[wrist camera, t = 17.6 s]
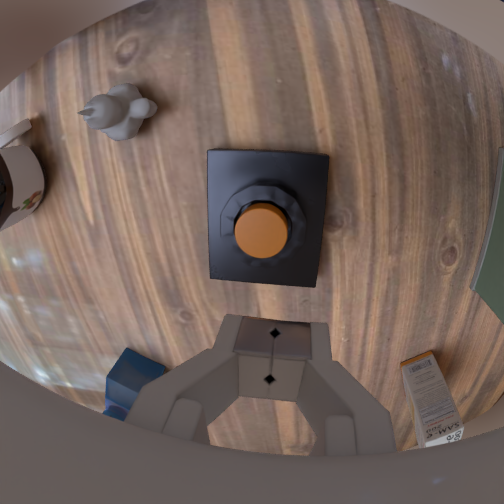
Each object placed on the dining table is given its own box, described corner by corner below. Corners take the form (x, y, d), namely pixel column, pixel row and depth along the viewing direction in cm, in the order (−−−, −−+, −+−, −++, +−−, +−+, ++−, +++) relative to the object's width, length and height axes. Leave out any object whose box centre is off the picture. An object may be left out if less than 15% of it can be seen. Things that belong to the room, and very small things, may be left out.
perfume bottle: (123, 371, 39) (89, 427, 28) (126, 347, 37) (85, 407, 26) (158, 388, 39) (129, 449, 28) (165, 366, 37) (131, 433, 26)
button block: (213, 148, 25) (200, 151, 21) (326, 153, 24) (332, 157, 20) (215, 268, 30) (204, 288, 26) (314, 277, 28) (316, 298, 25)
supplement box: (433, 384, 33) (457, 454, 21) (404, 395, 34) (422, 469, 22) (432, 348, 30) (466, 427, 18) (399, 361, 31) (424, 445, 19)
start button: (238, 201, 23) (234, 206, 21) (289, 204, 22) (289, 210, 21) (238, 248, 24) (234, 256, 23) (286, 251, 24) (285, 260, 22)
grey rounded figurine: (110, 92, 23) (57, 87, 16) (166, 81, 23) (121, 67, 15) (110, 141, 26) (58, 150, 18) (166, 136, 25) (120, 140, 17)
